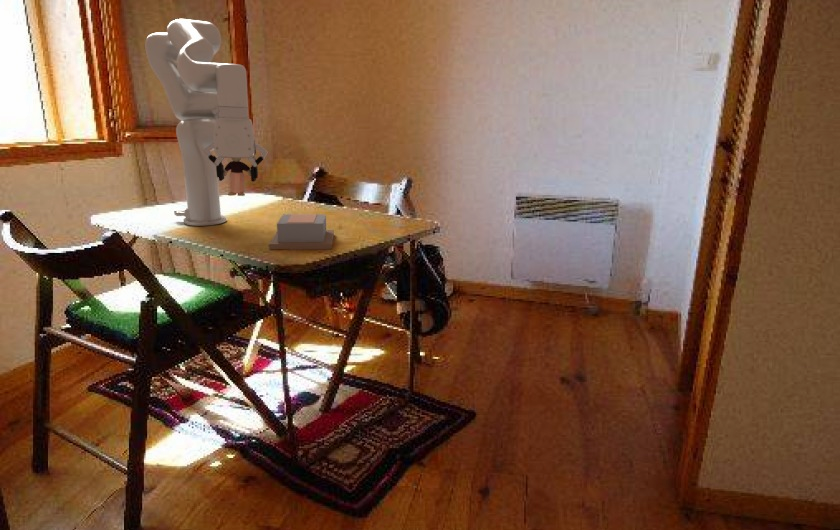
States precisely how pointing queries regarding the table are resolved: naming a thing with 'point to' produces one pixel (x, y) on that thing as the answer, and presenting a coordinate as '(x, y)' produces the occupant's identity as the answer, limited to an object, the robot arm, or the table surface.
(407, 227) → the table surface
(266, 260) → the table surface
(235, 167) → the grandmother figurine
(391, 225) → the table surface
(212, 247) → the table surface
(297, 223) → the plinth
